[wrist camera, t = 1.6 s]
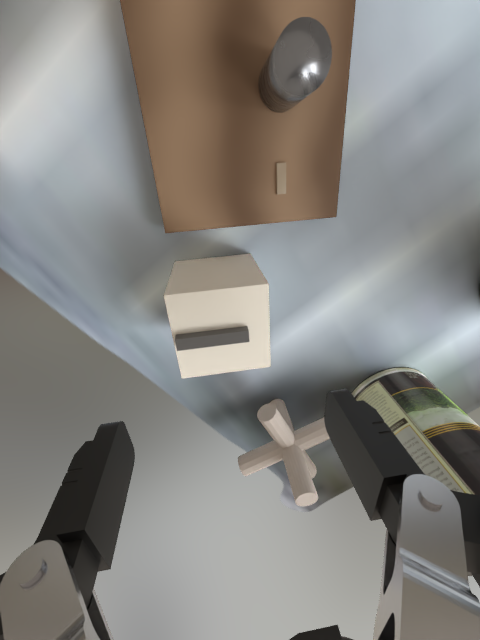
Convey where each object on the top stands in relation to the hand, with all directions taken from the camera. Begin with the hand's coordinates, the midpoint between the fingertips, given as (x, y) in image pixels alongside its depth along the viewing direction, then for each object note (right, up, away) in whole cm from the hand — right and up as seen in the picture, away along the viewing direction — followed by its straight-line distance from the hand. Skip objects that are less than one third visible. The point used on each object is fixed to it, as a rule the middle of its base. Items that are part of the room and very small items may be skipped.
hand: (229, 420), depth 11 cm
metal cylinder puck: (+3, +17, +5) cm, 18 cm away
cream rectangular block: (-2, +6, +12) cm, 14 cm away
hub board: (+1, +17, +7) cm, 19 cm away
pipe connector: (+4, -5, +19) cm, 21 cm away
